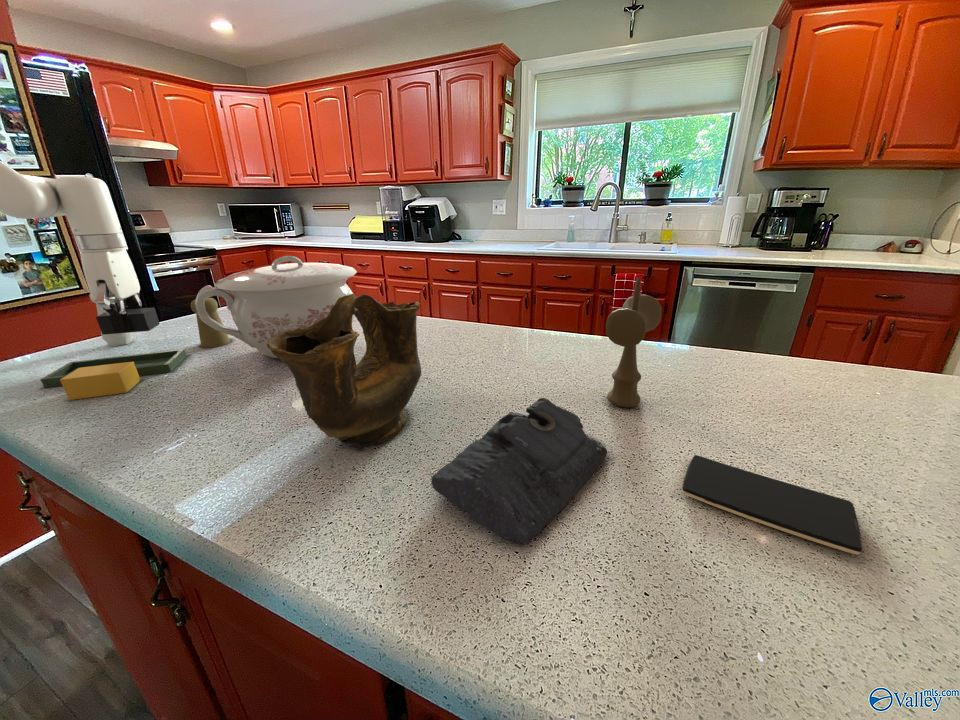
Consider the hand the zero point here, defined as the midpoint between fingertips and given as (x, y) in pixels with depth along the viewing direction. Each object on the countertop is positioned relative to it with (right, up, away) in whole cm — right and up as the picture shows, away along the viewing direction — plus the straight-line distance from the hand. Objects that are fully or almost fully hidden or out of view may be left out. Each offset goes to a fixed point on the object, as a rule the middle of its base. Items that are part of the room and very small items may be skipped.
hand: (131, 326), depth 88 cm
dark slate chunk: (+82, -21, -39) cm, 94 cm away
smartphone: (+108, -23, -46) cm, 119 cm away
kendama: (+100, -14, -24) cm, 104 cm away
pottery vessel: (+61, -17, -29) cm, 70 cm away
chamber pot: (+37, -5, +3) cm, 38 cm away
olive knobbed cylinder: (+14, -3, +8) cm, 16 cm away
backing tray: (+4, -10, -7) cm, 12 cm away
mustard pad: (+9, -13, -15) cm, 22 cm away
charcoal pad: (0, 0, 0) cm, 0 cm away
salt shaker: (-11, -3, +10) cm, 15 cm away
